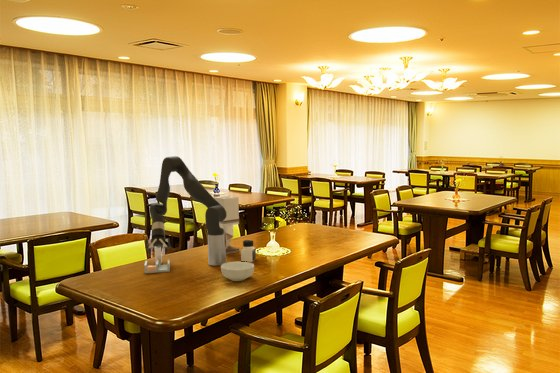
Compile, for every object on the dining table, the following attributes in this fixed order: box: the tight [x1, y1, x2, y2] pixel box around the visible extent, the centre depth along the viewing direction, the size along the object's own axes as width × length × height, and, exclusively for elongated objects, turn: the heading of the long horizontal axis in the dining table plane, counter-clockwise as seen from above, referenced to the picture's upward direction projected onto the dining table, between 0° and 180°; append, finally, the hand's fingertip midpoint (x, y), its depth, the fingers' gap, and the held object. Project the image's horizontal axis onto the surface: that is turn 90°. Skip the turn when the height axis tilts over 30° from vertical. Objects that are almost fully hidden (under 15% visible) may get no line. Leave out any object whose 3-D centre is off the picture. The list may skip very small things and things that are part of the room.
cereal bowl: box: [220, 260, 255, 282], centre depth 230 cm, size 17×17×7 cm
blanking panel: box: [153, 245, 163, 265], centre depth 261 cm, size 6×4×10 cm, turn 13°
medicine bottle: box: [240, 239, 257, 263], centre depth 266 cm, size 7×7×12 cm
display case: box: [213, 195, 240, 255], centre depth 288 cm, size 11×11×35 cm
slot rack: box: [143, 258, 171, 274], centre depth 248 cm, size 11×13×4 cm
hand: (158, 254), depth 261 cm, fingers open, 8 cm apart
